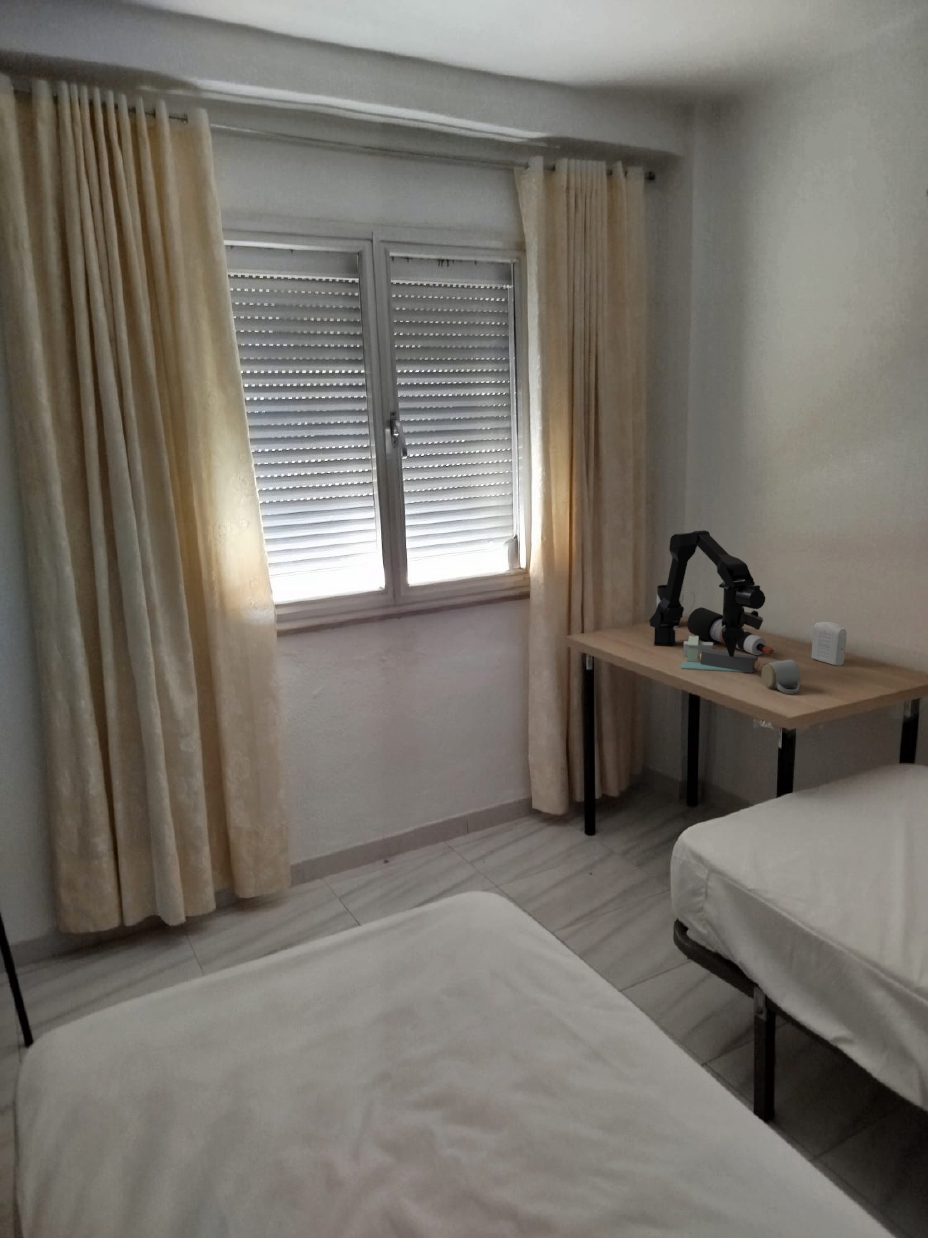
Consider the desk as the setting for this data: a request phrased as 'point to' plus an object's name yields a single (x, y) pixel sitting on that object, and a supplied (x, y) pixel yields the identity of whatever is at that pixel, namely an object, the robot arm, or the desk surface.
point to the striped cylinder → (711, 630)
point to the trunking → (701, 647)
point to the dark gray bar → (729, 660)
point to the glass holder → (661, 594)
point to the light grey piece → (692, 648)
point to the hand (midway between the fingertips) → (731, 654)
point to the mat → (704, 667)
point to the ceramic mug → (782, 676)
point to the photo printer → (829, 643)
